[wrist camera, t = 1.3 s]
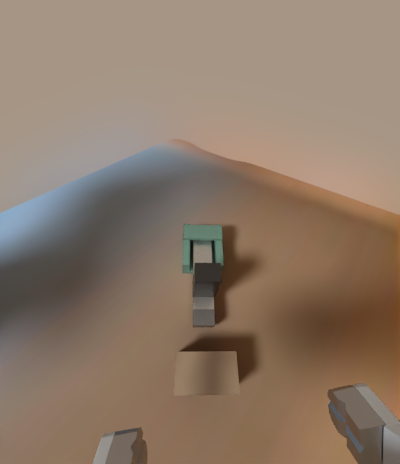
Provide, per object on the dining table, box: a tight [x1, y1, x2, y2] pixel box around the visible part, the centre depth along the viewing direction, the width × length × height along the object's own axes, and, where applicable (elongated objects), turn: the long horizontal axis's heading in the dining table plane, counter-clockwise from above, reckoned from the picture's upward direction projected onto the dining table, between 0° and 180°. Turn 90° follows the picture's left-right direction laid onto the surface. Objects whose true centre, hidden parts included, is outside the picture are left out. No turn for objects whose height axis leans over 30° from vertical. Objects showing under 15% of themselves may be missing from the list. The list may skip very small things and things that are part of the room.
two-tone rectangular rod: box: [193, 240, 222, 327], centre depth 30 cm, size 3×15×9 cm, turn 1°
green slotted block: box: [183, 224, 224, 273], centre depth 34 cm, size 6×7×4 cm
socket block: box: [174, 351, 240, 396], centre depth 26 cm, size 7×4×4 cm, turn 91°
